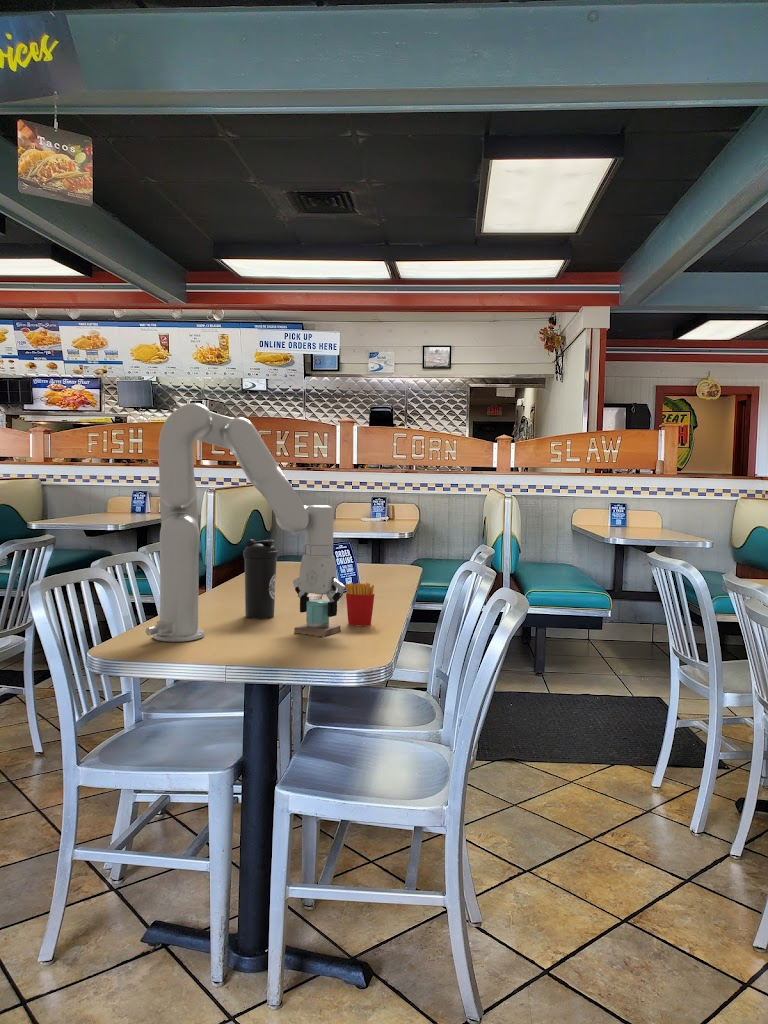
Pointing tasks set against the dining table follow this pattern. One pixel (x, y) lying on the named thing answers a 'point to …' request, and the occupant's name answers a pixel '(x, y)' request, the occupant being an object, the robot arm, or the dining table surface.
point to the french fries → (359, 603)
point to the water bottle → (260, 578)
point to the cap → (317, 611)
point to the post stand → (317, 629)
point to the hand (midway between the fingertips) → (318, 613)
